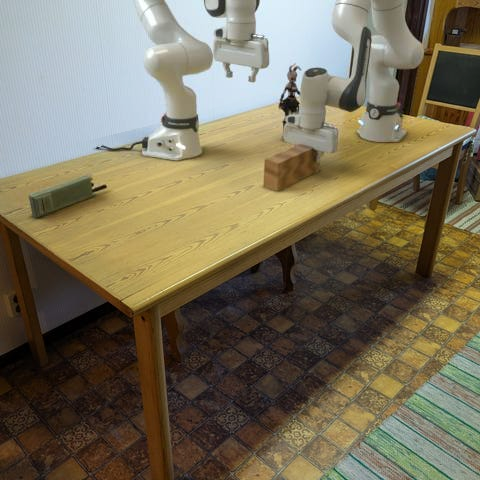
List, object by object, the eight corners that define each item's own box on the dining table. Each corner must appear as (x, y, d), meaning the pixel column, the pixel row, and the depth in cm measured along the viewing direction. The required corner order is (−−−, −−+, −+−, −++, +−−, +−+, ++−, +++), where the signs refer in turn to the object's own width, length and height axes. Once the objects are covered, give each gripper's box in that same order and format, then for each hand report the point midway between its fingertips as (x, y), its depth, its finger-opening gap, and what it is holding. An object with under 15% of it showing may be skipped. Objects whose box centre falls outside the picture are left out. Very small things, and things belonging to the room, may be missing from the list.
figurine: (281, 144, 200) (285, 65, 186) (270, 140, 204) (273, 62, 189) (305, 136, 209) (311, 60, 194) (294, 133, 213) (299, 58, 198)
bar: (277, 191, 160) (278, 163, 156) (263, 186, 164) (264, 158, 159) (319, 170, 177) (321, 144, 172) (306, 166, 180) (308, 140, 175)
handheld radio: (30, 215, 144) (102, 188, 161) (37, 219, 142) (109, 191, 159) (26, 193, 140) (100, 168, 157) (33, 197, 138) (107, 171, 155)
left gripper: (274, 34, 148) (272, 83, 155) (223, 28, 160) (223, 73, 166) (261, 36, 144) (259, 86, 151) (209, 30, 155) (210, 76, 162)
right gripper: (344, 124, 163) (339, 164, 170) (292, 112, 175) (290, 150, 182) (333, 128, 159) (329, 169, 166) (281, 116, 171) (279, 155, 178)
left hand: (240, 79), depth 159 cm, fingers open, 8 cm apart
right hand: (308, 159), depth 174 cm, fingers closed on bar, 5 cm apart
